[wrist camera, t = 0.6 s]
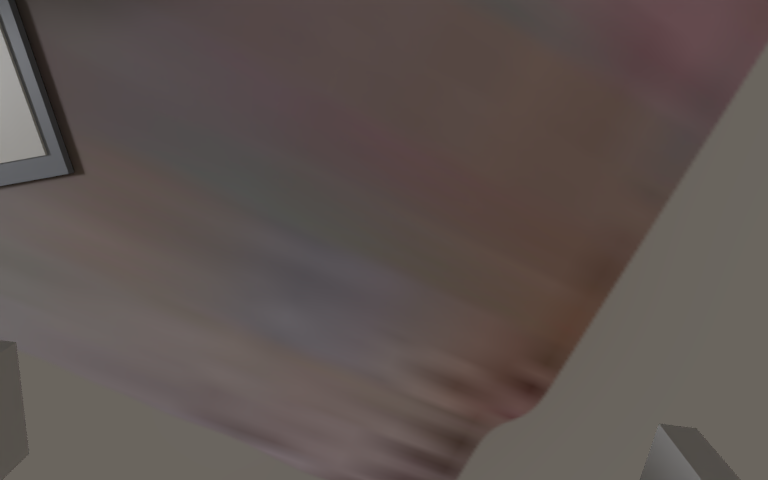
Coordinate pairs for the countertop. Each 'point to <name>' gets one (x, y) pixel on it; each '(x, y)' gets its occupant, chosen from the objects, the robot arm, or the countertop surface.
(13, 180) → the writing board
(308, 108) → the countertop surface
